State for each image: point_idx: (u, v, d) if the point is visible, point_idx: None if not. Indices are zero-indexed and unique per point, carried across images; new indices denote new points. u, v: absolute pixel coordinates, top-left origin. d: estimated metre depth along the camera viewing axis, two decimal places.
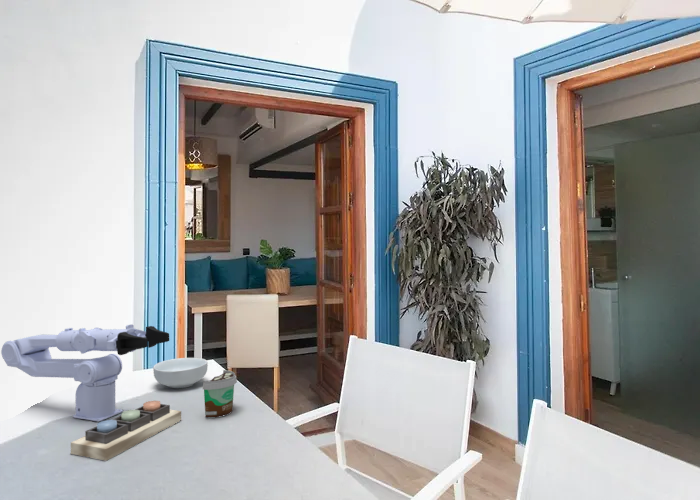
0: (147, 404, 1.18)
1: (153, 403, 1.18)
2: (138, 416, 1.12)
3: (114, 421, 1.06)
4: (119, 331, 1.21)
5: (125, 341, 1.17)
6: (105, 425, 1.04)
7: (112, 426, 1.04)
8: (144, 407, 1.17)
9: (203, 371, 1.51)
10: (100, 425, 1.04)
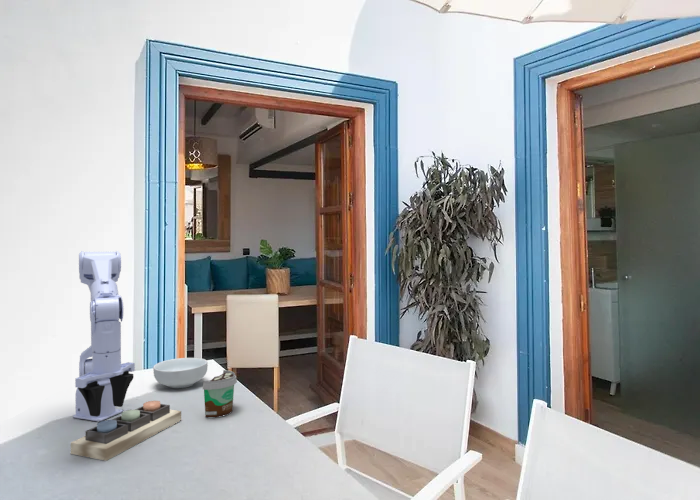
0: (147, 404, 1.18)
1: (153, 403, 1.18)
2: (138, 416, 1.12)
3: (114, 421, 1.06)
4: (110, 364, 1.03)
5: None
6: (105, 425, 1.04)
7: (112, 426, 1.04)
8: (144, 407, 1.17)
9: (203, 371, 1.51)
10: (100, 425, 1.04)
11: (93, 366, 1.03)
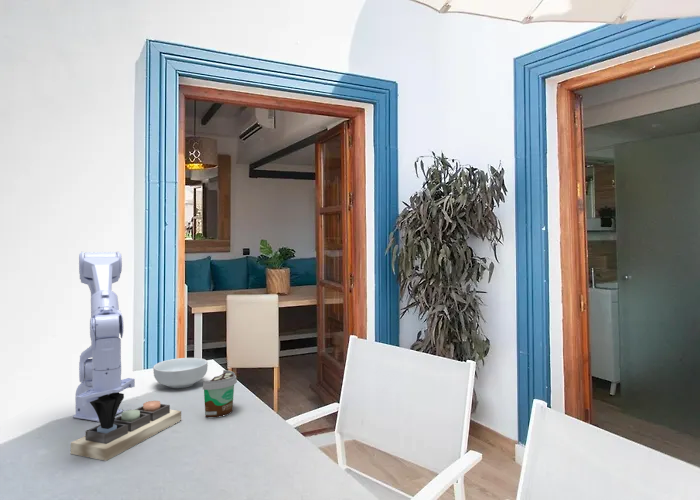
0: (147, 404, 1.18)
1: (153, 403, 1.18)
2: (138, 416, 1.12)
3: (114, 425, 1.06)
4: (110, 381, 1.03)
5: None
6: (105, 429, 1.04)
7: (112, 430, 1.04)
8: (144, 407, 1.17)
9: (203, 371, 1.51)
10: (100, 429, 1.04)
11: (93, 384, 1.03)
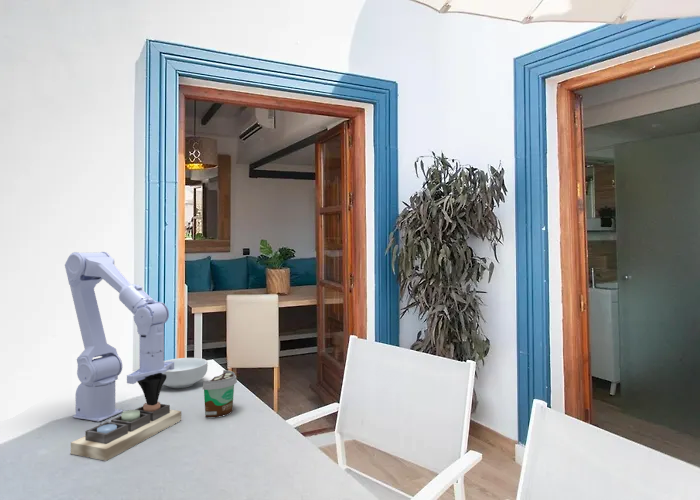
0: (147, 405, 1.18)
1: None
2: (138, 416, 1.12)
3: (114, 425, 1.06)
4: (156, 363, 1.16)
5: None
6: (105, 430, 1.04)
7: None
8: (144, 408, 1.17)
9: (203, 371, 1.51)
10: (100, 430, 1.04)
11: (141, 365, 1.16)
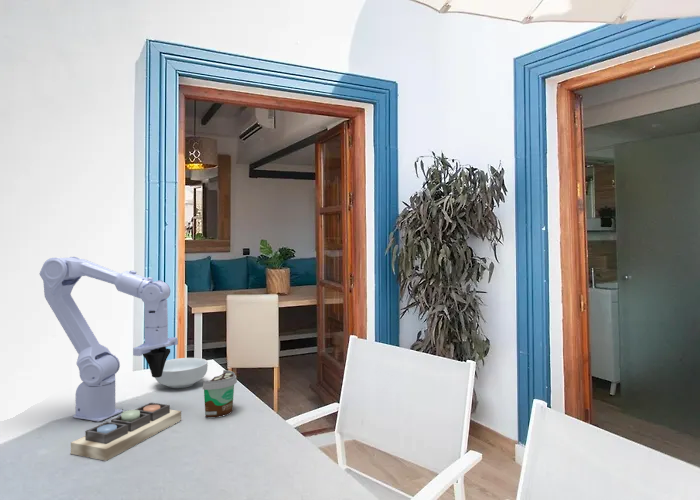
0: (147, 408, 1.18)
1: (153, 407, 1.18)
2: (138, 416, 1.12)
3: (114, 425, 1.06)
4: (160, 337, 1.23)
5: None
6: (105, 430, 1.04)
7: None
8: None
9: (203, 371, 1.51)
10: (100, 430, 1.04)
11: (146, 339, 1.23)
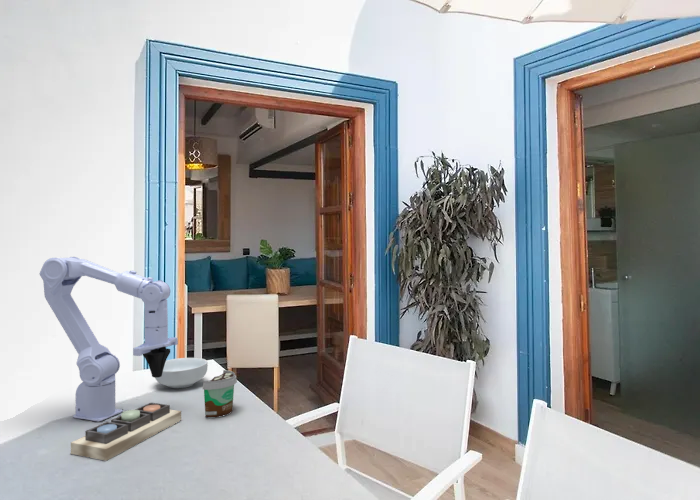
0: (147, 408, 1.18)
1: (153, 407, 1.18)
2: (138, 416, 1.12)
3: (114, 425, 1.06)
4: (160, 337, 1.23)
5: None
6: (105, 430, 1.04)
7: None
8: None
9: (203, 371, 1.51)
10: (100, 430, 1.04)
11: (146, 339, 1.23)
